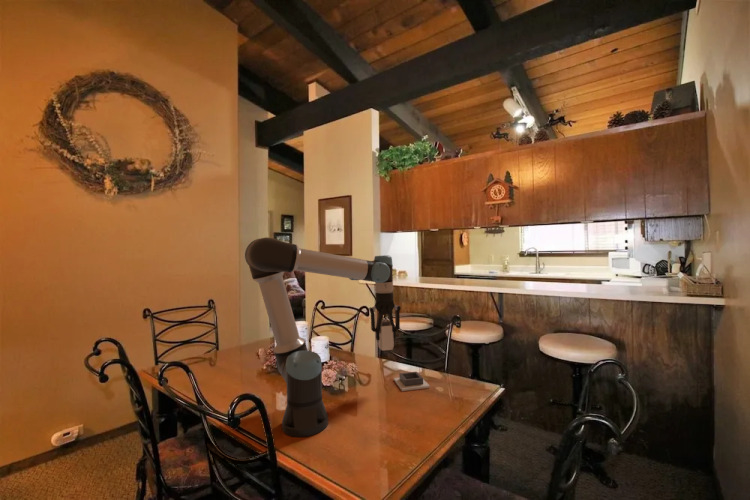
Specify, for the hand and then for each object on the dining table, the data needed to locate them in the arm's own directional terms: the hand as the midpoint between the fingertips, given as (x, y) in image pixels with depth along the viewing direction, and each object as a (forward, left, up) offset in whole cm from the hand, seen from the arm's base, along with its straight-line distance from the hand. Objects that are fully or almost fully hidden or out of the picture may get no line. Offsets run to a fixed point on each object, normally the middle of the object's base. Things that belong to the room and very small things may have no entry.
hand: (386, 346), depth 142 cm
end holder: (+11, 0, -17) cm, 20 cm away
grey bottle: (0, 0, -1) cm, 1 cm away
